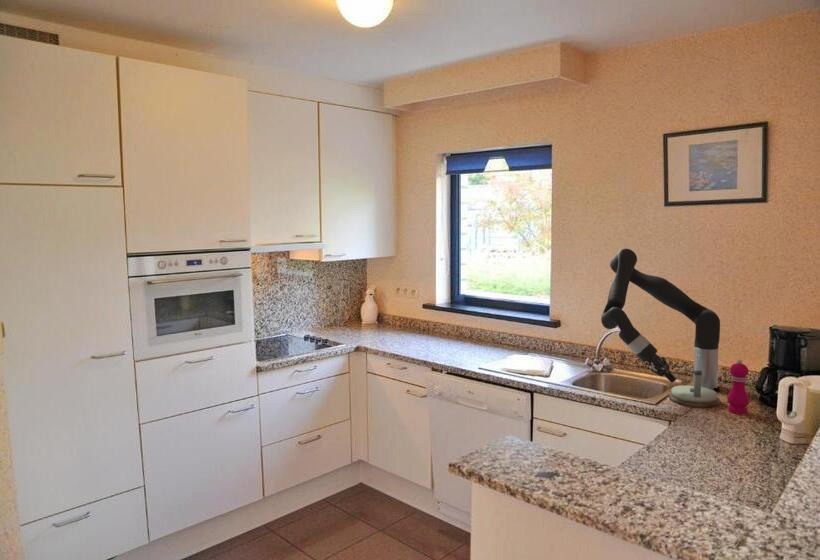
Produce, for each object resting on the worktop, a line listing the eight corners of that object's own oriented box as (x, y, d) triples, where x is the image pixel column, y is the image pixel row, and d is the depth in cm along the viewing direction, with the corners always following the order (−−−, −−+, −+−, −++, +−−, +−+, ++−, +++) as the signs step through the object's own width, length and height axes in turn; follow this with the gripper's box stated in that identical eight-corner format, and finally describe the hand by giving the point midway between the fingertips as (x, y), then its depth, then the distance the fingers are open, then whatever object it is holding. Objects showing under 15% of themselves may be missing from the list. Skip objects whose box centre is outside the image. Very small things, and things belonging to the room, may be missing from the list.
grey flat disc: (662, 393, 243) (663, 389, 242) (708, 394, 241) (708, 390, 241) (678, 407, 225) (678, 403, 225) (727, 408, 223) (727, 403, 223)
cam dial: (663, 395, 234) (664, 366, 233) (684, 388, 244) (685, 359, 243) (703, 405, 221) (704, 374, 220) (725, 397, 231) (726, 367, 230)
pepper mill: (745, 409, 221) (747, 357, 219) (751, 415, 214) (753, 362, 212) (724, 407, 223) (726, 356, 221) (729, 414, 216) (731, 361, 214)
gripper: (639, 348, 245) (670, 380, 240) (631, 358, 234) (663, 392, 229) (653, 337, 240) (685, 370, 236) (644, 347, 230) (678, 381, 225)
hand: (674, 380), depth 233 cm, fingers closed
